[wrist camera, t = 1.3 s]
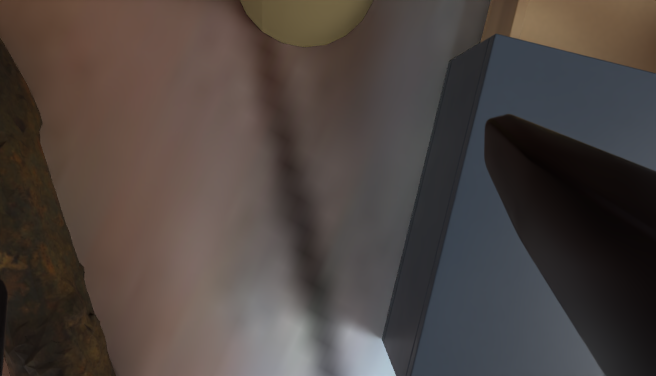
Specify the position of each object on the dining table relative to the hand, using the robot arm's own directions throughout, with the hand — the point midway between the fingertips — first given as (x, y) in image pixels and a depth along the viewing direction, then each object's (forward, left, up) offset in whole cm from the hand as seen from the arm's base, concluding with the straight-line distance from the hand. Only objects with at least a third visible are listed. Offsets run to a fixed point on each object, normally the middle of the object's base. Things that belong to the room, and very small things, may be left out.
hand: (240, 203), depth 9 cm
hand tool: (+4, +10, -14) cm, 17 cm away
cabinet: (-9, -8, -13) cm, 18 cm away
